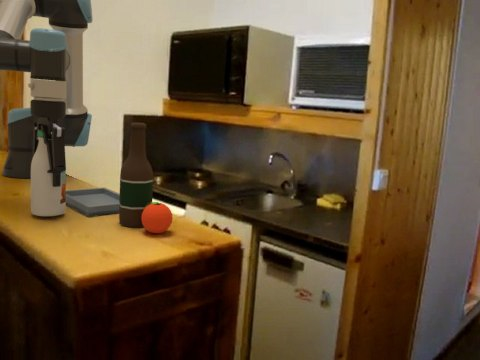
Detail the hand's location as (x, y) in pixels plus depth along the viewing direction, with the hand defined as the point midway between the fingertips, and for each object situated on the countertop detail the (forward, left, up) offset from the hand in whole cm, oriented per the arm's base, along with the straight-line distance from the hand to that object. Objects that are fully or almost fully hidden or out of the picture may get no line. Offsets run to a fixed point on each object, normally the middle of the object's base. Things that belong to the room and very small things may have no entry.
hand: (48, 195), depth 108 cm
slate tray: (-11, +11, -5) cm, 16 cm away
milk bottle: (0, 0, -4) cm, 4 cm away
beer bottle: (+7, +20, -5) cm, 22 cm away
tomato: (+14, +24, -5) cm, 28 cm away
